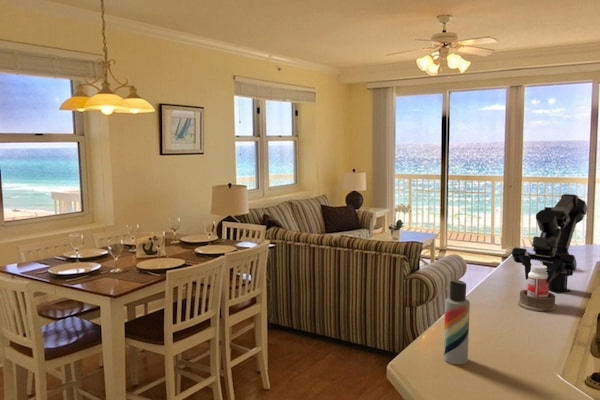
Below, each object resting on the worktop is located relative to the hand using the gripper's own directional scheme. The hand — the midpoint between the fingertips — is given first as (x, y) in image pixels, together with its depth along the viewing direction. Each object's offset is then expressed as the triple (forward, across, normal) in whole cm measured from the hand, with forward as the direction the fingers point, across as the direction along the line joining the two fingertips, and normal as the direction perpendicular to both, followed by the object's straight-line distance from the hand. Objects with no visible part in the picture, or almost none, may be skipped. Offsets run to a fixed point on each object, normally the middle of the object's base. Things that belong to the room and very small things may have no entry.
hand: (536, 280), depth 160 cm
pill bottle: (+4, 0, +6) cm, 7 cm away
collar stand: (+5, 0, +7) cm, 9 cm away
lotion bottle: (+44, -3, -32) cm, 55 cm away
